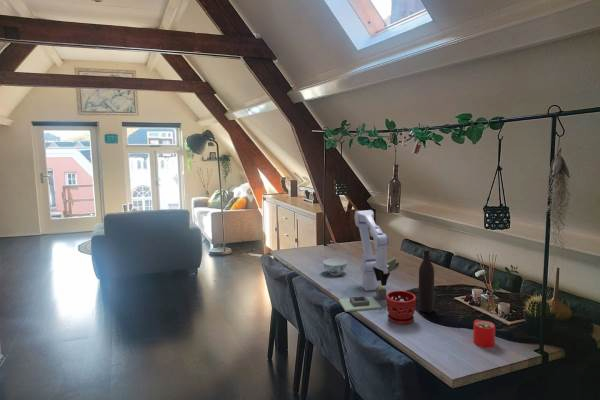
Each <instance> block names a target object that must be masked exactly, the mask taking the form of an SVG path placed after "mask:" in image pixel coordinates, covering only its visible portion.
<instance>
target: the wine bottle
mask: <svg viewBox="0 0 600 400" xmlns="http://www.w3.org/2000/svg"><path fill="white" fill-rule="evenodd" d="M430 254H431V249H430V248H429V249H428V248H425V249H424V250H423V260H422V261H421V264H420V265H419V268H418V311H419V312H420V311H422V312H421V313H423V312H432V311H433V312H434V309H435V268H434V265H433V263H432V261H431V257H430ZM433 312H432V313H433Z"/></svg>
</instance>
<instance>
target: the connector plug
mask: <svg viewBox="0 0 600 400" xmlns="http://www.w3.org/2000/svg"><path fill="white" fill-rule="evenodd" d="M375 292H376V296H375V297H376V298H377V299H378V300H384V299H385V300H386V295H387V289H386V287H385V286H382V285H377V288H376V290H375Z"/></svg>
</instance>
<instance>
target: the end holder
mask: <svg viewBox="0 0 600 400" xmlns="http://www.w3.org/2000/svg"><path fill="white" fill-rule="evenodd" d="M338 303H339V305H340V306H341V307H342V309H343V310H344V312H345V313H346V312H350V313H351V312H358V311H361V312H362V311H371V310H380V309H381V310H382V305H381V304H380V303H378V301H377V300H376V299H375V298H374V296H366V295H359V296H358V295H357V296H349V298H339V299H338Z"/></svg>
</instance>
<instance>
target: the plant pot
mask: <svg viewBox="0 0 600 400" xmlns="http://www.w3.org/2000/svg"><path fill="white" fill-rule="evenodd" d="M385 300H386V309H387V312H388V314H387V318H388V320H389V321H390V322H392V323H395V324H397V325H407V324H411V323H412V322H413V321H414V318H415V317H414V314H415V311H416V305H417V304H416V303H417V297H416V295H415V294H414V293H412V292H409V291H407V290H393V291H392V290H391V291H390V292H387V293H386V299H385ZM400 300H402V301H400Z"/></svg>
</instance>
